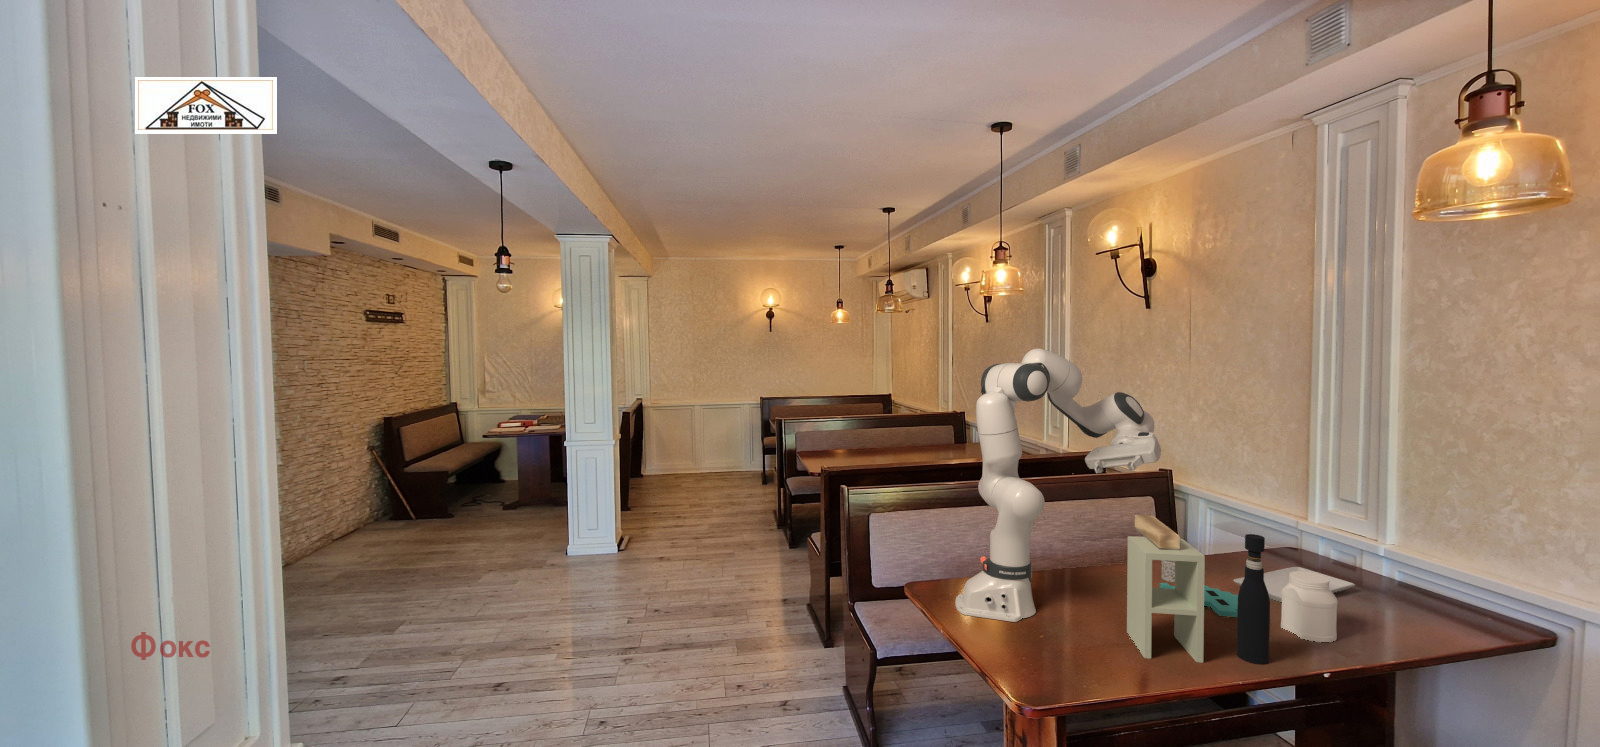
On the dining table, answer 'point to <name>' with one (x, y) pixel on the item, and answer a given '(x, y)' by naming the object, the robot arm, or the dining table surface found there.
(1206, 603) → the alien figure
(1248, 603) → the wine bottle
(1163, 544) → the block
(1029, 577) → the robot arm
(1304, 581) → the jar
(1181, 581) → the shelf stand
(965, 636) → the dining table surface
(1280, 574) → the tray
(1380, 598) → the dining table surface
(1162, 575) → the grey speckled cup
